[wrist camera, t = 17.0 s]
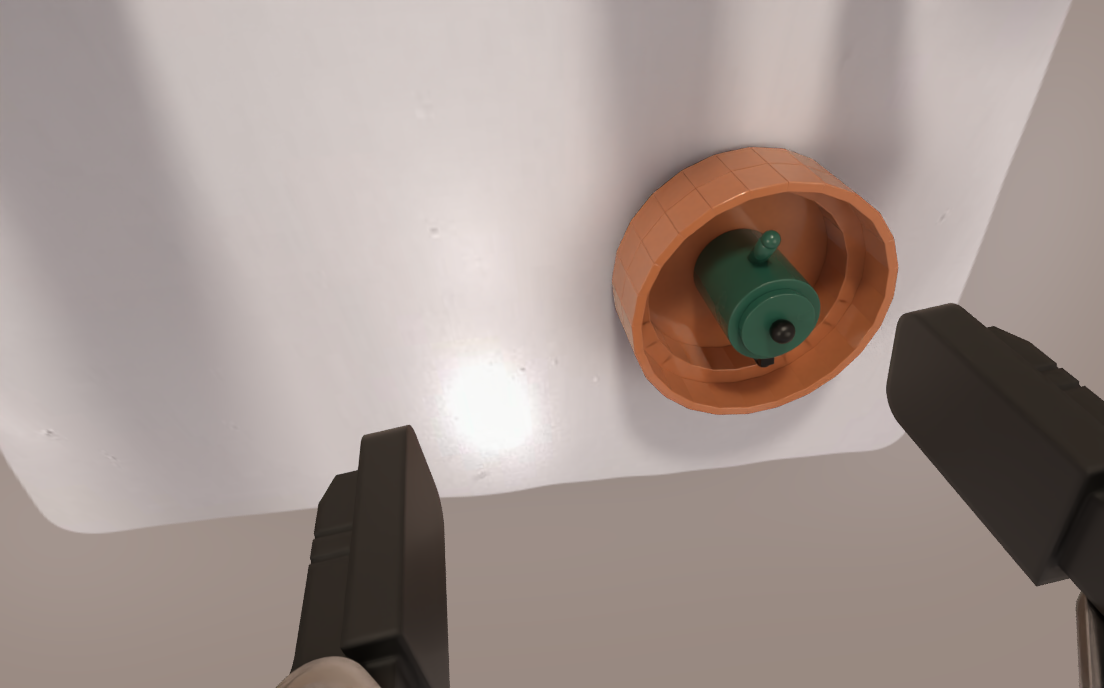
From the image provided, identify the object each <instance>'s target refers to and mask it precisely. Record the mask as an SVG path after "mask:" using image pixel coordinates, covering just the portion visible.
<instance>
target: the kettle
mask: <svg viewBox="0 0 1104 688" xmlns="http://www.w3.org/2000/svg"><path fill="white" fill-rule="evenodd" d="M780 243H781V236H780V234H779V233H778V232H777V231H775V230H768V231H765V232H764V233H761V232H759V231H756V230H752V229H736V230H732V231H728V232H726V233H723V234H721V235H720V236H718V237H716V238H715V239H713V240H712V241H711V242H710V243H709V244H708V245H707V246H706V247H705V248H704V249H703V250H702V252H701V253H700V255H699V256H698V258H697V261H696V263H695V267H694V275H693V277H694V283H695V286H696V288H697V290H698V292H699V293H700V295H701V297H702V298H703V300H704V301H705V303H706V305H707V306H708V308H709V309H710V311H711V313H712V314H713V316H714V318H715V319H716V321H717V322H718V324H719V326H720V327H721V329H722V330H723V332H724V334H725V335H726V337H727V338H728V340H729V342H730V343H731V345H732V346H733V348H734V349H735V350H736V351H737V352H739V353H740V354H742V355H744V356H746V357H750V358H753V359H754V361H755V362H756V364H757V365H758V366H759V367H762V368H766V367H768V366H769V365H772V364H774V359H775V357H777V356H780V355H783V354H785V353H787V352H789V351H791V350H793V349H794V348H796V347H797V346H799V345H800V344H801V343H802V342H803V341H804V340H805V339H806V338H807V337H808V336H809V335H810V334H811V332H812V331H813V329H814V328H815V326H816V324H817V322H818V319H819V316H820V300H819V297H818V294H817V293H816V291H815V290H814V289H813V287H812V286H811V285H810V284H809V283H808V282H807V281H806V280H805V278H804V277H803V276H802V275H801V274H800V273H799V272H798V271H797V269H796V268H795V267H794V266H793V265H792V264H791V263H790V262H789V261H788V259H787V258H786V257H785V256H784V255H783V254H782V253H781V252H780V250H779V249H778V246H779V245H780Z"/></svg>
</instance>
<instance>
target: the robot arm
mask: <svg viewBox="0 0 1104 688" xmlns="http://www.w3.org/2000/svg"><path fill="white" fill-rule="evenodd" d="M886 393H887V399H888V403H889V406H890V409H891V411H892V413H893V415H894V417H895V419H896V420H897V422H898V423H899V424H900V425H901V427H902V428H903V429H904V430H905V431H906V433H907V434H908V435H909V436H910V437H911V439H912V440H913V441H914V442H915V443H916V444H917V446H918V447H919V448H920V449H921V450H922V452H923V453H924V454H925V455H926V456H927V457H928V459H929V460H930V461H931V462H932V463H933V465H934V466H935V467H936V468H937V469H938V470H939V472H940V473H941V474H942V475H943V476H944V478H945V479H946V480H947V481H948V482H949V484H950V485H951V486H952V487H953V488H954V489H955V490H956V492H957V493H958V494H959V495H960V497H961V498H962V499H963V500H964V501H965V502H966V504H967V505H968V506H969V507H970V508H971V510H972V511H973V512H974V513H975V514H976V515H977V517H978V518H979V519H980V520H981V521H982V523H983V524H984V525H985V526H986V527H987V529H988V530H989V531H990V532H991V533H992V534H993V536H994V537H995V538H996V539H997V540H998V542H999V543H1000V544H1001V545H1002V546H1003V548H1004V549H1005V550H1006V551H1007V552H1008V553H1009V555H1010V556H1011V557H1012V558H1013V559H1014V561H1015V562H1016V563H1017V564H1018V565H1019V566H1020V568H1021V569H1022V570H1023V571H1024V572H1025V574H1026V575H1027V576H1028V577H1029V578H1030V579H1031V581H1032V582H1033V583H1034V584H1035V585H1036V586H1040V585H1044V584H1048V583H1052V582H1056V581H1061V580H1064V579H1069V578H1070V579H1071V580H1072V581H1073V582H1074V584H1075V585H1076V586H1077V587H1078V588H1079V589H1080V590H1081V592H1080V594H1079V596H1078V599H1077V601H1076V621H1077V622H1076V624H1077V646H1078V667H1079V688H1104V401H1103V400H1102V399H1101V398H1099V397H1098V396H1097V395H1096V394H1094V393H1093V392H1092V391H1091V390H1089V389H1088V388H1087V387H1086V386H1082V387H1081V386H1080V385H1079V381H1078V380H1077V379H1076V378H1074V377H1073V376H1072V375H1070V374H1069V373H1068V372H1067V371H1065V370H1064V369H1063V368H1058V367H1057V364H1056V363H1055V362H1054V361H1053V360H1052V359H1050V358H1049V357H1048V356H1046V355H1045V354H1044V353H1043V352H1041V351H1040V350H1039V349H1038V348H1037V347H1035V346H1034V345H1033V344H1032V343H1030V342H1029V341H1026V340H1024V339H1022V338H1020V337H1017V336H1015V335H1013V334H1010V333H1008V332H1006V331H1004V330H1001V329H999V328H997V327H995V326H992V327H988V328H986V327H985V326H984V325H983V324H982V323H980V322H979V321H978V320H977V319H976V318H974V317H973V316H972V315H971V314H970V313H968V312H967V311H966V310H965V309H964V308H962V307H961V306H959V305H957V304H954V303H948V304H944V305H940V306H935V307H931V308H926V309H922V310H918V311H913V312H909V313H905V314H903V315H902V316H901V317H900V318H899V320H898V323H897V327H896V333H895V338H894V344H893V350H892V356H891V361H890V367H889V373H888V379H887V385H886ZM314 535H315V539H314V540H313V542H312V549H311V556H310V560H311V564H310V565H309V568H308V574H307V581H306V588H305V593H304V600H303V606H302V612H301V619H300V625H299V631H298V638H297V644H296V651H295V657H294V661H293V666H292V669H291V672H290V674H289V675H288V676H287V677H286V678H285V679H284V680H283V681H282V682H281V683H280V684H279V685H278V686H277V687H276V688H450V681H449V653H448V624H447V595H446V567H445V540H444V539H445V538H444V520H443V513H442V507H441V502H440V498H439V494H438V491H437V488H436V485H435V482H434V480H433V477H432V475H431V472H430V470H429V467H428V465H427V462H426V459H425V457H424V454H423V452H422V449H421V447H420V444H419V442H418V439H417V436H416V434H415V432H414V430H413V428H412V426H410V425H406V426H402V427H397V428H393V429H389V430H384V431H380V432H375V433H371V434H367V435H364V436H363V437H362V440H361V446H360V456H359V466H358V470H357V471H352V472H348V473H344V474H339V475H336V476H335V478H334V479H333V481H332V483H331V484H330V486H329V488H328V489H327V491H326V493H325V494H324V496H323V497H322V499H321V501H320V502H319V504H318V511H317V517H316V523H315V531H314Z"/></svg>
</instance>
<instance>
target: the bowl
mask: <svg viewBox="0 0 1104 688" xmlns="http://www.w3.org/2000/svg"><path fill="white" fill-rule="evenodd" d="M736 229H752V230H756V231H759V232H761V233H764V232H765V231H768V230H775V231H777V232H778V233H779V234H780V236H781V243H780V245H779V246H778V249H779V250H780V252H781V253H782V254H783V255H784V256H785V257H786V258H787V259H788V261H789V262H790V263H791V264H792V265H793V266H794V267H795V268H796V269H797V271H798V272H799V273H800V274H801V275H802V276H803V277H804V278H805V280H806V281H807V282H808V283H809V284H810V285H811V286H812V287H813V289H814V290H815V291H816V293H817V294H818V297H819V300H820V316H819V319H818V322H817V324H816V326H815V328H814V329H813V331H812V332H811V334H810V335H809V336H808V337H807V338H806V339H805V340H804V341H803V342H802V343H801V344H800V345H799V346H797V347H796V348H794V349H793V350H791V351H789V352H787V353H785V354H783V355H780V356H777V357H775V359H774V364H772V365H769V366H768V367H766V368H762V367H759V366H758V365H757V364H756V362H755V361H754V359H753V358H750V357H746V356H744V355H742V354H740V353H739V352H737V351H736V350H735V349H734V348H733V346H732V345H731V343H730V342H729V340H728V338H727V337H726V335H725V334H724V332H723V330H722V329H721V327H720V326H719V324H718V322H717V321H716V319H715V318H714V316H713V314H712V313H711V311H710V309H709V308H708V306H707V305H706V303H705V301H704V300H703V298H702V297H701V295H700V293H699V292H698V290H697V288H696V286H695V283H694V277H693V275H694V267H695V263H696V261H697V258H698V256H699V255H700V253H701V252H702V250H703V249H704V248H705V247H706V246H707V245H708V244H709V243H710V242H711V241H712V240H713V239H715V238H716V237H718V236H720V235H721V234H723V233H726V232H728V231H732V230H736ZM897 273H898V262H897V255H896V248H895V242H894V237H893V235H892V234H891V232H890V230H889V228H888V226H887V225H886V223H885V221H884V219H883V217H882V216H881V214H880V212H878V211H877V210H876V209H875V208H874V207H872V206H871V205H870V204H869V203H867V202H866V201H865V200H864V199H863V198H861V197H860V196H859V195H858V194H856V193H855V192H854V191H853V190H851V189H850V188H849V187H847V186H846V185H845V184H844V183H842V182H841V181H840V180H839V179H837V178H836V177H835V176H834V175H832V174H831V173H830V172H828V171H827V170H826V169H825V168H823V167H822V166H821V165H820V164H818V163H817V162H816V161H814V160H813V159H811V158H808V157H806V156H803V155H800V154H797V153H795V152H792V151H789V150H786V149H782V148H761V147H747V148H742V149H738V150H733V151H729V152H724V153H719V154H715V155H712V156H710V157H708V158H706V159H704V160H702V161H700V162H698V163H696V164H694V165H692V166H690V167H688V168H686V169H684V170H682V171H680V172H679V173H678V174H677V175H675V176H674V177H673V178H672V179H670V180H669V181H668V182H667V183H665V184H664V185H663V186H662V187H660V188H659V189H658V190H657V191H655V192H654V193H653V194H652V195H651V196H650V197H649V199H648V200H647V201H646V202H645V204H644V205H643V206H642V207H641V209H640V210H639V211H638V212H637V214H636V215H635V216H634V218H633V219H632V220H631V222H630V223H629V226H628V228H627V230H626V232H625V234H624V237H623V239H622V241H621V243H620V245H619V247H618V250H617V253H616V259H615V265H614V271H613V277H612V286H613V294H614V301H615V308H616V311H617V313H618V316H619V318H620V320H621V323H622V325H623V328H624V330H625V332H626V335H627V337H628V340H629V342H630V344H631V347H632V349H633V352H634V354H635V356H636V358H637V360H638V362H639V365H640V367H641V369H642V371H643V373H644V375H645V377H646V378H647V380H648V381H649V382H650V383H651V384H652V385H654V386H655V387H656V388H657V389H658V390H659V391H660V392H661V393H662V394H663V395H664V396H665V397H666V398H668V399H670V400H672V401H674V402H676V403H678V404H680V405H682V406H684V407H686V408H688V409H691V410H696V411H701V412H706V413H711V414H717V415H725V414H750V413H754V412H758V411H763V410H767V409H772V408H776V407H779V406H782V405H784V404H786V403H789V402H791V401H793V400H796V399H798V398H800V397H803V396H805V395H807V394H809V393H811V392H812V391H814V390H815V389H817V388H819V387H820V386H822V385H823V384H825V383H826V382H828V381H829V380H831V379H832V378H834V377H836V376H837V375H838V374H839V373H840V372H841V371H842V370H843V369H844V368H846V367H847V366H848V365H849V364H850V363H851V362H852V361H853V360H854V359H855V358H856V357H857V356H858V355H859V354H861V352H862V351H863V350H864V348H865V347H866V346H867V344H868V343H869V341H870V340H871V339H872V337H873V336H874V335H875V333H876V332H877V330H878V329H879V328H880V326H881V324H882V322H883V320H884V318H885V315H886V313H887V311H888V308H889V306H890V304H891V302H892V299H893V296H894V291H895V285H896V279H897Z"/></svg>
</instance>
